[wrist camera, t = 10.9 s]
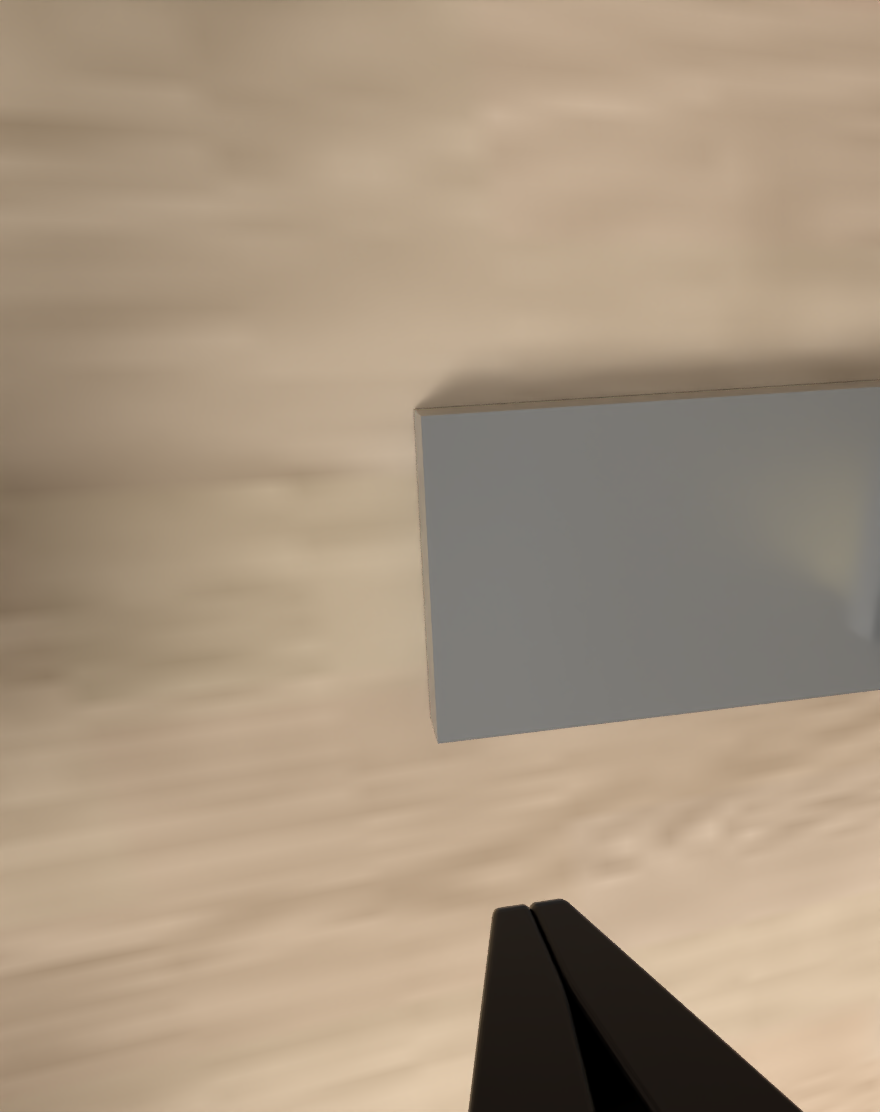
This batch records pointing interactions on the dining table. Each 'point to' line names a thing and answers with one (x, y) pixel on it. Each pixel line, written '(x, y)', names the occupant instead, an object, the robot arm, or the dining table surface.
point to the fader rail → (648, 554)
